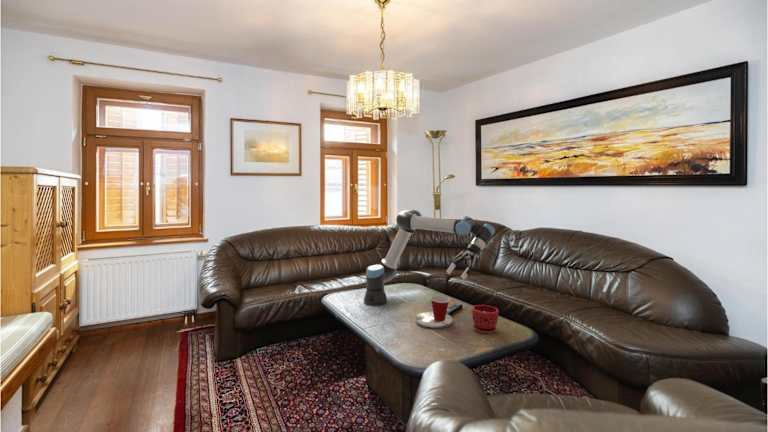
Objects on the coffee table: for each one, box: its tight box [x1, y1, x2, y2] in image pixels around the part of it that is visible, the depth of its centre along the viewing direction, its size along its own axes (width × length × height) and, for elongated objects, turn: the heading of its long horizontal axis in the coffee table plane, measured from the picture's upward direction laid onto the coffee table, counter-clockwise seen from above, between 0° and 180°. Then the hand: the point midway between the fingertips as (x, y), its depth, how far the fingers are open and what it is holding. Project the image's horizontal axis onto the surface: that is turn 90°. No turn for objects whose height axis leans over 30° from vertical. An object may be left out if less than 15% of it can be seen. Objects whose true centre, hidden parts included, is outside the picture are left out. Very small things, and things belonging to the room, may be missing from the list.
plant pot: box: [471, 304, 500, 335], centre depth 192 cm, size 13×13×12 cm
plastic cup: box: [430, 295, 451, 321], centre depth 202 cm, size 11×11×12 cm
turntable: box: [415, 311, 453, 329], centre depth 205 cm, size 20×20×2 cm
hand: (454, 275), depth 209 cm, fingers open, 13 cm apart
